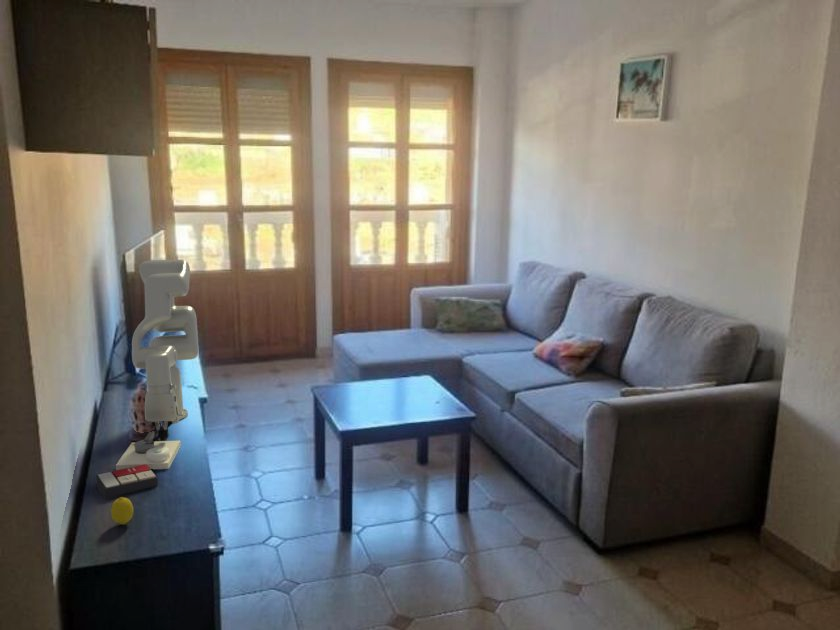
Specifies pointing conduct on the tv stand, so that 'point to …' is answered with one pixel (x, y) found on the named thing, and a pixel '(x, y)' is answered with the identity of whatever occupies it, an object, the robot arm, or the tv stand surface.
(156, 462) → the base
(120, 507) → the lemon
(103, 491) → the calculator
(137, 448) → the gray scoop
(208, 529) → the tv stand surface
